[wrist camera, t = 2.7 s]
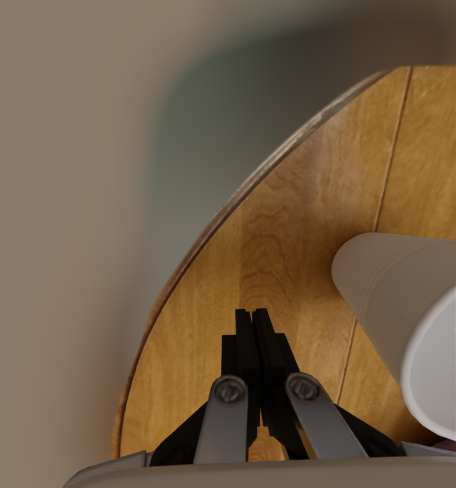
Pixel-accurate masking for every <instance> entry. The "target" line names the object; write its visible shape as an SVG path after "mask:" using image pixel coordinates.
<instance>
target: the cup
mask: <svg viewBox="0 0 456 488" xmlns="http://www.w3.org/2000/svg"><path fill="white" fill-rule="evenodd" d="M331 275H332V279H333V282H334V284H335V286H336V287H337V289H338V291H339V292H340V294H341V295H342V297H343V298H344V300H345V301H346V303H347V304H348V306H349V308H350V309H351V311H352V312H353V314H354V316H355V317H356V319H357V320H358V322H359V323H360V325H361V326H362V328H363V330H364V331H365V333H366V335H367V336H368V337H369V339H370V341H371V342H372V344H373V346H374V347H375V349H376V351H377V352H378V354H379V355H380V357H381V358H382V360H383V362H384V363H385V365H386V366H387V368H388V370H389V371H390V373H391V374H392V376H393V377H394V379H395V381H396V382H397V384H398V385H399V387H400V391H401V395H402V399H403V401H404V403H405V404H406V406H407V408H408V410H409V412H410V413H411V414H412V415H413V416H414V417H415V418H416V419H417V420H418V421H419V422H420V423H421V424H422V425H423V426H424V427H426V428H428V429H429V430H431V431H432V432H434V433H436V434H437V435H440V436H443V437H446V438H448V439H451V440H454V441H456V240H451V239H441V238H432V237H419V236H408V235H397V234H389V233H377V232H369V233H363V234H360V235H357V236H355V237H353V238H351V239H350V240H348V241H347V242H346V243H344V244H343V245H342V246H341V248H340V249H339V250H338V251H337V253H336V255H335V256H334V259H333V262H332V267H331Z"/></svg>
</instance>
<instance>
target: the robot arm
mask: <svg viewBox="0 0 456 488" xmlns="http://www.w3.org/2000/svg"><path fill="white" fill-rule="evenodd" d="M235 318H236V335H222V360H221V377H219V378H217V379H216V380H215V381H214V383H213V384H212V387H211V390H210V394H209V398H208V401H207V402H206V403H205V404H204V405H202V406H201V407H200V408H199V409H198V410H197V411H196V412H195V413H194V414H193V415H191V416H190V417H189V418H188V419H187V420H186V421H185V422H184V423H183V424H182V425H180V426H179V427H178V428H177V429H176V430H175V431H174V432H173V433H172V434H171V435H169V436H168V437H167V438H166V439H165V440H164V441H163V442H162V443H161V444H160V445H159V446H158V447H157V448H156V450H155V451H153V452H150V453H147V454H146V450H144V451H141V452H137V453H134V454H130V455H127V456H124V457H120V458H117V459H114V460H110V461H107V462H104V463H101V464H97V465H94V466H90V467H87V468H85V469H83V470H81V471H79V472H77V473H76V474H75V475H74V476H72V477H71V478H70V479H69V480H68V482H67V483H66V484H65V485H64V486H63V488H456V452H453V451H449V450H444V449H439V448H434V447H429V446H424V445H419V444H414V443H409V442H404V441H400V443H399V444H395V443H394V442H393V441H392V440H391V439H390V438H388V437H387V436H386V435H384V434H383V433H381V432H379V431H378V430H376V429H375V428H373V427H371V426H370V425H368V424H367V423H365V422H363V421H362V420H360V419H359V418H357V417H355V416H354V415H352V414H350V413H349V412H347V411H346V410H344V409H342V408H341V407H339V406H338V405H336V404H334V403H333V402H332V400H331V399H330V397H329V396H328V394H327V393H326V391H325V390H324V388H323V387H322V385H321V384H320V382H319V381H318V380H317V379H316V378H314V377H313V376H311V375H309V374H307V373H303V372H300V370H299V368H298V365H297V363H296V360H295V358H294V355H293V353H292V351H291V348H290V346H289V343H288V341H287V338H286V336H285V334H284V333H275V332H274V329H273V326H272V323H271V320H270V317H269V314H268V311H267V309H266V308H258V309H256V311H252V322H251V317H250V312H246V310H245V309H235ZM260 409H261V415H262V421H263V426H264V427H266V426H268V429H269V435H270V436H273V437H274V438H276V439H277V440H278V441H279V442H280V443H281V444H282V445H281V447H282V452H283V455H284V458H285V461H259V462H248V460H249V447H250V446H251V445H252V443H253V442H254V441H255V439H256V438H257V427H260Z"/></svg>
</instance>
